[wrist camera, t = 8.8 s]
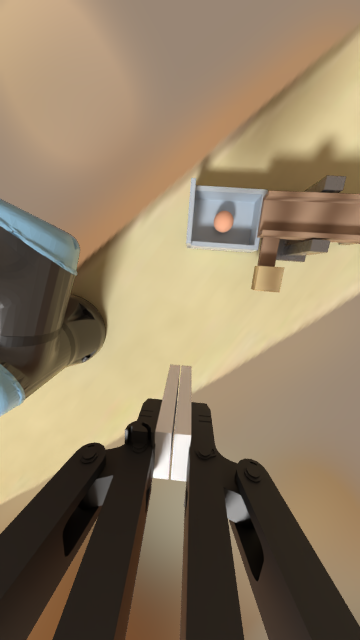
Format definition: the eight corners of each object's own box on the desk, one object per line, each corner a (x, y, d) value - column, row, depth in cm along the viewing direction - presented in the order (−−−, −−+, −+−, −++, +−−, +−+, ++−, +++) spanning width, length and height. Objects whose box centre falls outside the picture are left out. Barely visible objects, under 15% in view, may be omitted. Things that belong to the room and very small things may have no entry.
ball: (208, 232, 36) (219, 229, 33) (211, 211, 35) (222, 206, 32) (224, 234, 37) (236, 232, 34) (226, 214, 36) (239, 210, 33)
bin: (187, 248, 38) (186, 243, 31) (191, 195, 36) (191, 177, 29) (250, 252, 37) (263, 248, 31) (258, 199, 35) (274, 182, 28)
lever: (248, 288, 33) (253, 290, 30) (263, 197, 30) (270, 189, 27) (363, 297, 32) (381, 300, 28) (392, 203, 28) (417, 194, 25)
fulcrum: (270, 259, 38) (296, 256, 28) (282, 194, 35) (314, 167, 26) (342, 264, 37) (391, 263, 28) (359, 199, 34) (421, 173, 25)
